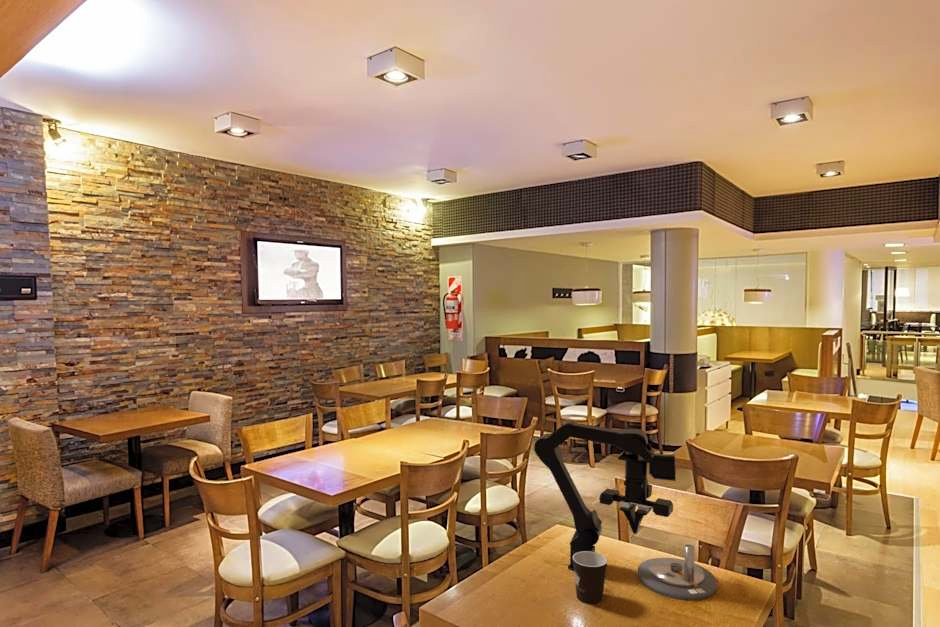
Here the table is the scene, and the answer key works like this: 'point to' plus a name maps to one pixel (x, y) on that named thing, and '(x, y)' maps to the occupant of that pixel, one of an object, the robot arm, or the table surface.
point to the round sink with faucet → (678, 570)
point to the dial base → (673, 591)
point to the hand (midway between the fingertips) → (635, 533)
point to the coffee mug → (589, 576)
